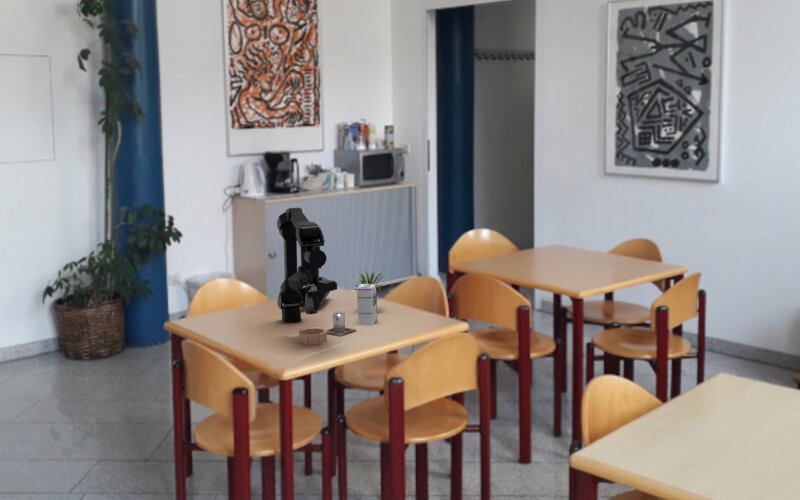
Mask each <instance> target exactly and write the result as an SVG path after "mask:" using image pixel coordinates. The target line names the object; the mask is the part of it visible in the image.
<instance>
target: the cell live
mask: <svg viewBox="0 0 800 500" xmlns="http://www.w3.org/2000/svg"><path fill="white" fill-rule="evenodd" d="M332 323H333V327H332V328H333V330H334V331H333V332H335V333H343V332H346V331H345V328H346V315H345V312H341V311H337V312H333V313H332Z"/></svg>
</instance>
